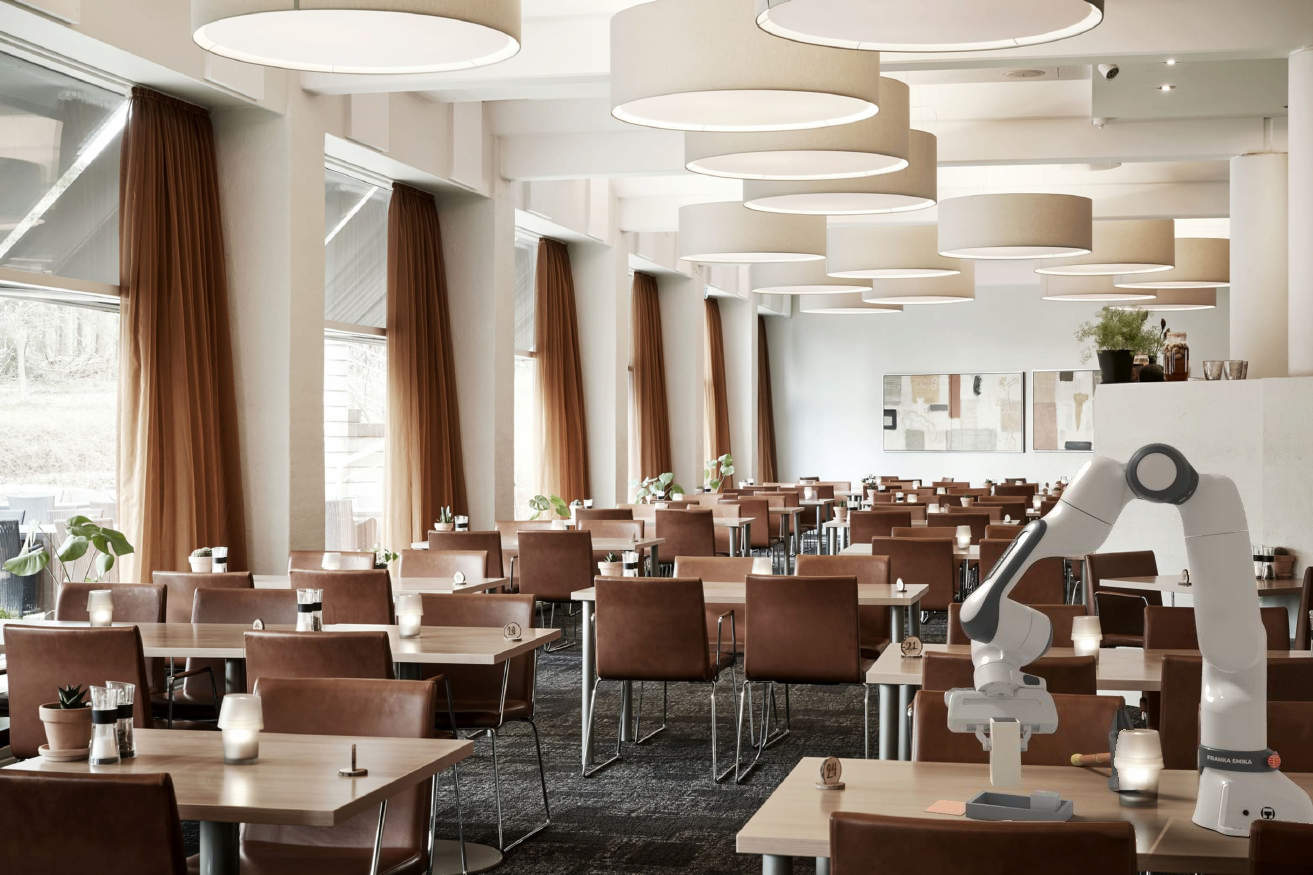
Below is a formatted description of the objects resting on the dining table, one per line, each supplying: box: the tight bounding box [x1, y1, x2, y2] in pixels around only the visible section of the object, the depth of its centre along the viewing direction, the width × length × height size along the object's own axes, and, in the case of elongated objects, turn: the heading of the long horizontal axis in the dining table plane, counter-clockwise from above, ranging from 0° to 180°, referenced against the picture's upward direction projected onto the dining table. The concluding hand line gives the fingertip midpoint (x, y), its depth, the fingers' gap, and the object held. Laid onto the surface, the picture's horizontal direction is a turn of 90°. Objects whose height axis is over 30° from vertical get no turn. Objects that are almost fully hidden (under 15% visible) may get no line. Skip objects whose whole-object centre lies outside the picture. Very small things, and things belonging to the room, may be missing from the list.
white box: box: [989, 717, 1022, 788], centre depth 259 cm, size 5×5×12 cm
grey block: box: [1029, 789, 1062, 812], centre depth 256 cm, size 4×4×4 cm
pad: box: [923, 799, 966, 817], centre depth 264 cm, size 7×11×1 cm, turn 153°
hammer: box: [1070, 709, 1135, 792], centre depth 295 cm, size 6×16×30 cm
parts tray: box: [965, 790, 1074, 821], centre depth 258 cm, size 17×12×3 cm
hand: (1005, 749), depth 259 cm, fingers closed on white box, 5 cm apart
